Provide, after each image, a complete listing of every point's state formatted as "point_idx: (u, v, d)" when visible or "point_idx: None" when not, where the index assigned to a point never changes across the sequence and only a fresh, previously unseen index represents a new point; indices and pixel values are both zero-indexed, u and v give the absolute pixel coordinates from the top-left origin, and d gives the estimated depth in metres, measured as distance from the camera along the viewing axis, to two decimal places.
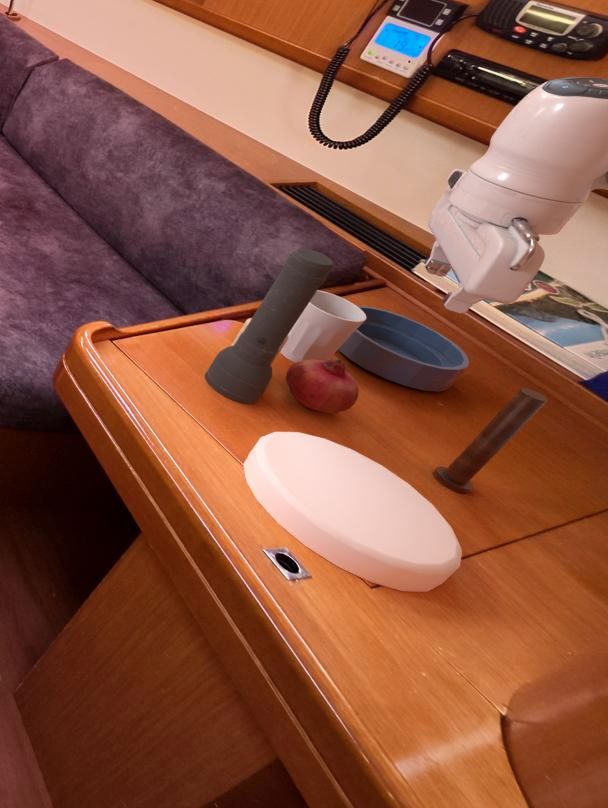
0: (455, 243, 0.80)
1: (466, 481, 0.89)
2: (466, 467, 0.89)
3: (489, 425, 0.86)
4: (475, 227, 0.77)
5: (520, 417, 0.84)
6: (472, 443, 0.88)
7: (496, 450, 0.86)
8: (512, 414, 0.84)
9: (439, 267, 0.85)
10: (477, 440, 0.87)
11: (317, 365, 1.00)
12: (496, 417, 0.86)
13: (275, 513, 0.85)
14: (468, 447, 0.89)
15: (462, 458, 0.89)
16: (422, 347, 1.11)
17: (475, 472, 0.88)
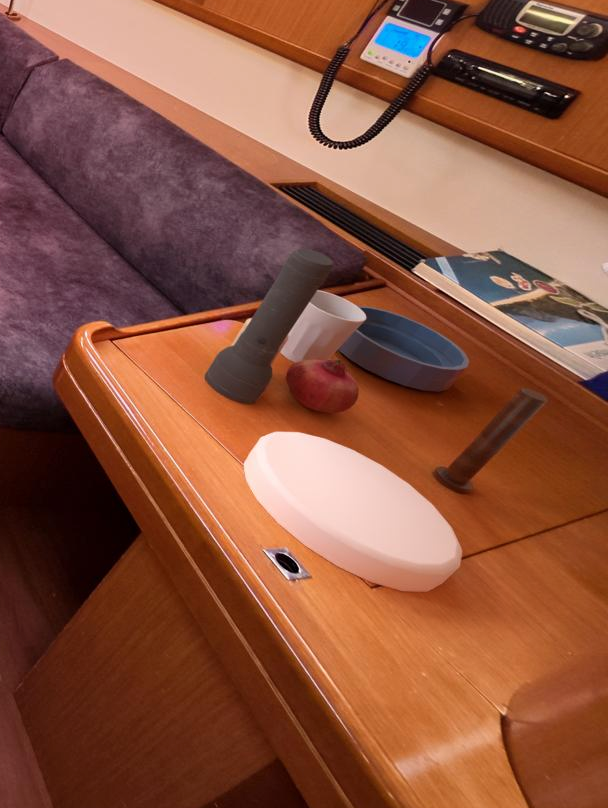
0: None
1: (466, 481, 0.89)
2: (466, 467, 0.89)
3: (489, 425, 0.86)
4: None
5: (520, 417, 0.84)
6: (472, 443, 0.88)
7: (496, 450, 0.86)
8: (512, 414, 0.84)
9: None
10: (477, 440, 0.87)
11: (317, 366, 1.00)
12: (496, 417, 0.86)
13: (275, 513, 0.85)
14: (468, 447, 0.89)
15: (462, 458, 0.89)
16: (422, 347, 1.11)
17: (475, 472, 0.88)
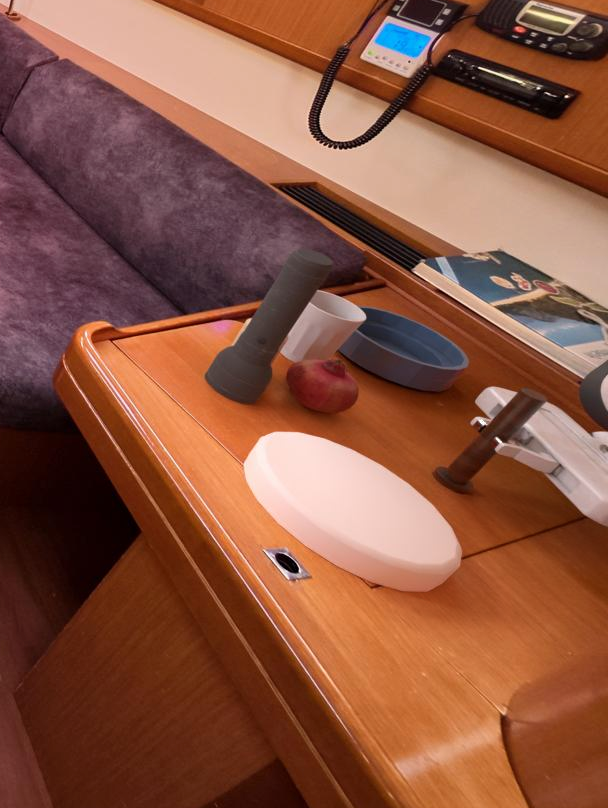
0: None
1: (466, 481, 0.89)
2: (465, 467, 0.89)
3: (489, 425, 0.86)
4: None
5: (520, 417, 0.84)
6: (472, 443, 0.88)
7: None
8: (512, 414, 0.84)
9: None
10: (477, 440, 0.87)
11: (317, 365, 1.00)
12: (496, 417, 0.86)
13: (275, 513, 0.85)
14: (468, 447, 0.89)
15: (462, 458, 0.89)
16: (422, 347, 1.11)
17: (475, 472, 0.88)
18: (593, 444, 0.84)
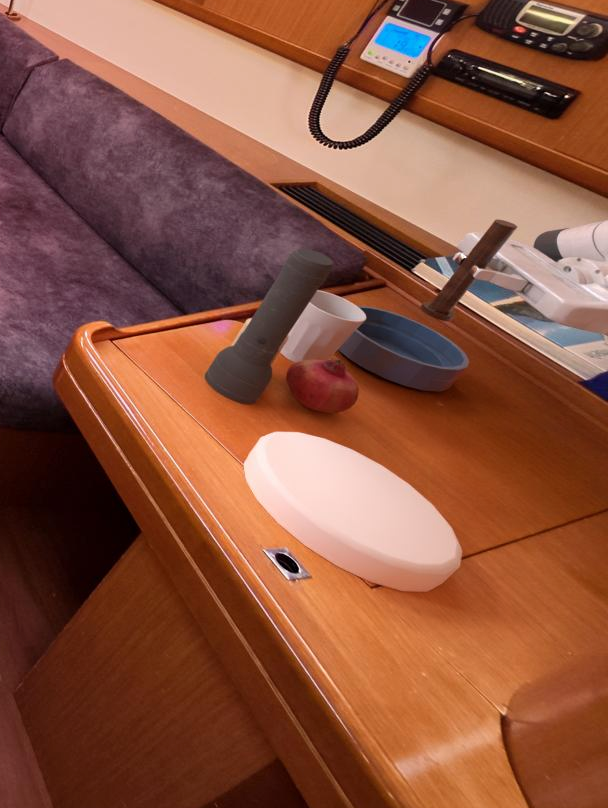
0: None
1: (449, 310, 1.02)
2: (448, 297, 1.01)
3: (468, 256, 0.99)
4: None
5: (494, 245, 0.96)
6: (453, 275, 1.01)
7: (474, 278, 0.99)
8: (487, 243, 0.97)
9: None
10: (458, 271, 1.00)
11: (317, 365, 1.00)
12: (474, 248, 0.99)
13: (275, 513, 0.85)
14: (450, 279, 1.01)
15: (445, 290, 1.02)
16: (422, 347, 1.11)
17: (456, 301, 1.01)
18: (558, 267, 0.96)
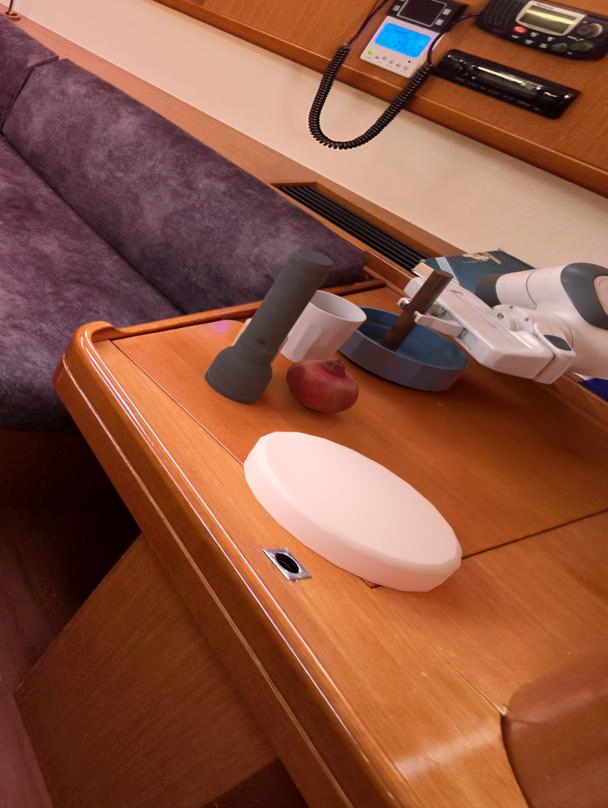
0: None
1: (394, 351, 1.09)
2: (393, 339, 1.09)
3: (410, 302, 1.06)
4: None
5: (433, 292, 1.03)
6: (398, 319, 1.08)
7: None
8: (427, 290, 1.04)
9: None
10: (401, 315, 1.07)
11: (317, 366, 1.00)
12: (415, 295, 1.06)
13: (275, 513, 0.85)
14: (395, 322, 1.08)
15: (390, 332, 1.09)
16: (422, 347, 1.11)
17: (400, 343, 1.08)
18: (492, 314, 1.03)
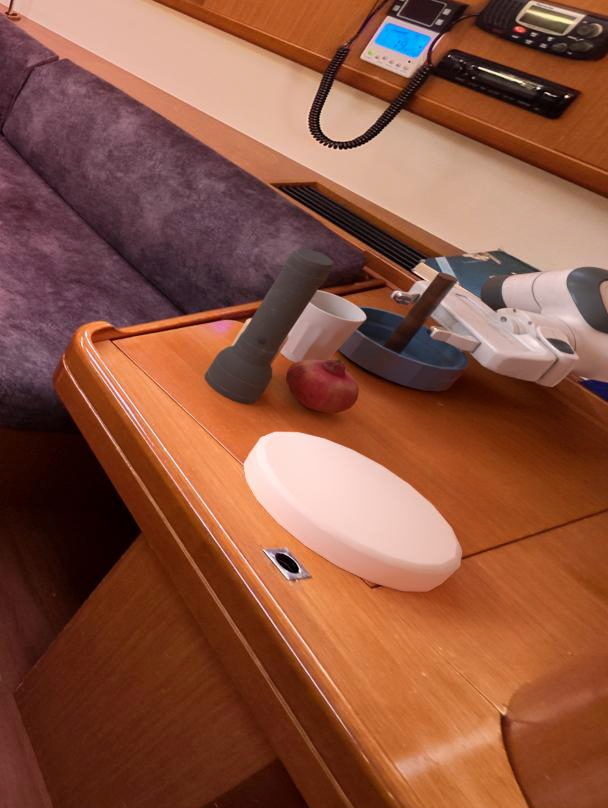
0: None
1: None
2: (397, 342, 1.10)
3: (414, 305, 1.07)
4: None
5: (437, 296, 1.04)
6: (402, 322, 1.09)
7: (420, 325, 1.07)
8: (431, 294, 1.05)
9: None
10: (406, 318, 1.08)
11: (317, 366, 1.00)
12: (420, 298, 1.07)
13: (275, 513, 0.85)
14: (399, 325, 1.09)
15: (395, 335, 1.10)
16: (422, 347, 1.11)
17: (404, 345, 1.09)
18: (496, 317, 1.04)
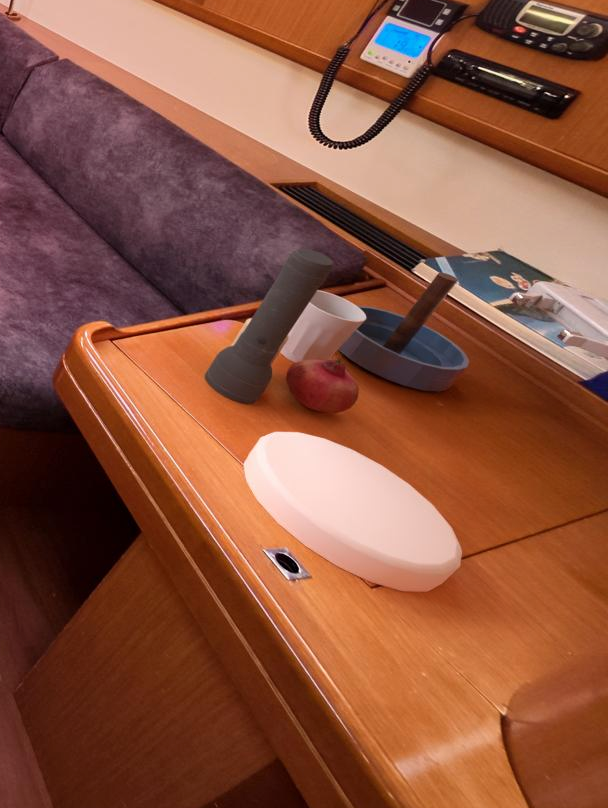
0: None
1: None
2: (397, 342, 1.10)
3: (414, 305, 1.07)
4: None
5: (437, 296, 1.04)
6: (402, 322, 1.09)
7: (420, 325, 1.07)
8: (431, 294, 1.05)
9: None
10: (406, 318, 1.08)
11: (317, 366, 1.00)
12: (420, 298, 1.07)
13: (275, 513, 0.85)
14: (399, 325, 1.09)
15: (395, 335, 1.10)
16: (422, 347, 1.11)
17: (404, 345, 1.09)
18: None
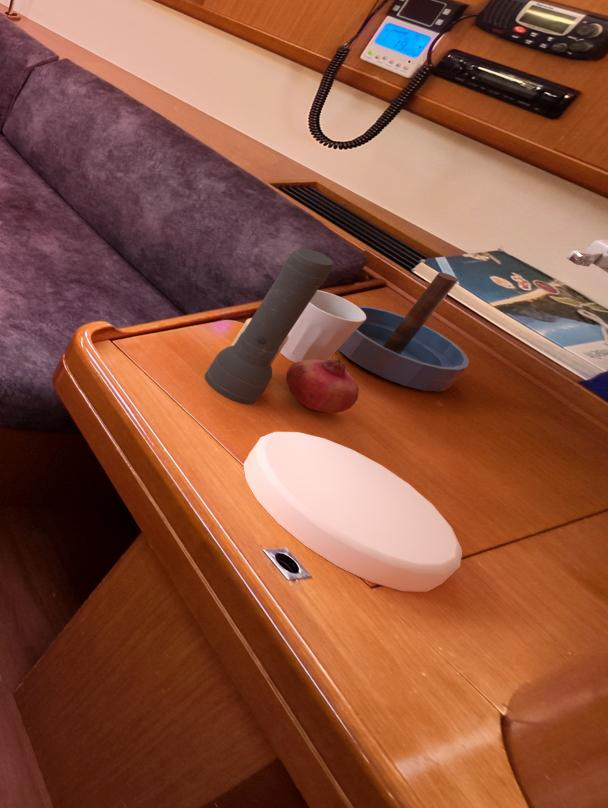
0: None
1: None
2: (397, 342, 1.10)
3: (414, 305, 1.07)
4: None
5: (437, 296, 1.04)
6: (402, 322, 1.09)
7: (420, 325, 1.07)
8: (431, 294, 1.05)
9: None
10: (406, 318, 1.08)
11: (317, 365, 1.00)
12: (420, 298, 1.07)
13: (275, 513, 0.85)
14: (399, 325, 1.09)
15: (395, 335, 1.10)
16: (422, 347, 1.11)
17: (404, 345, 1.09)
18: None
